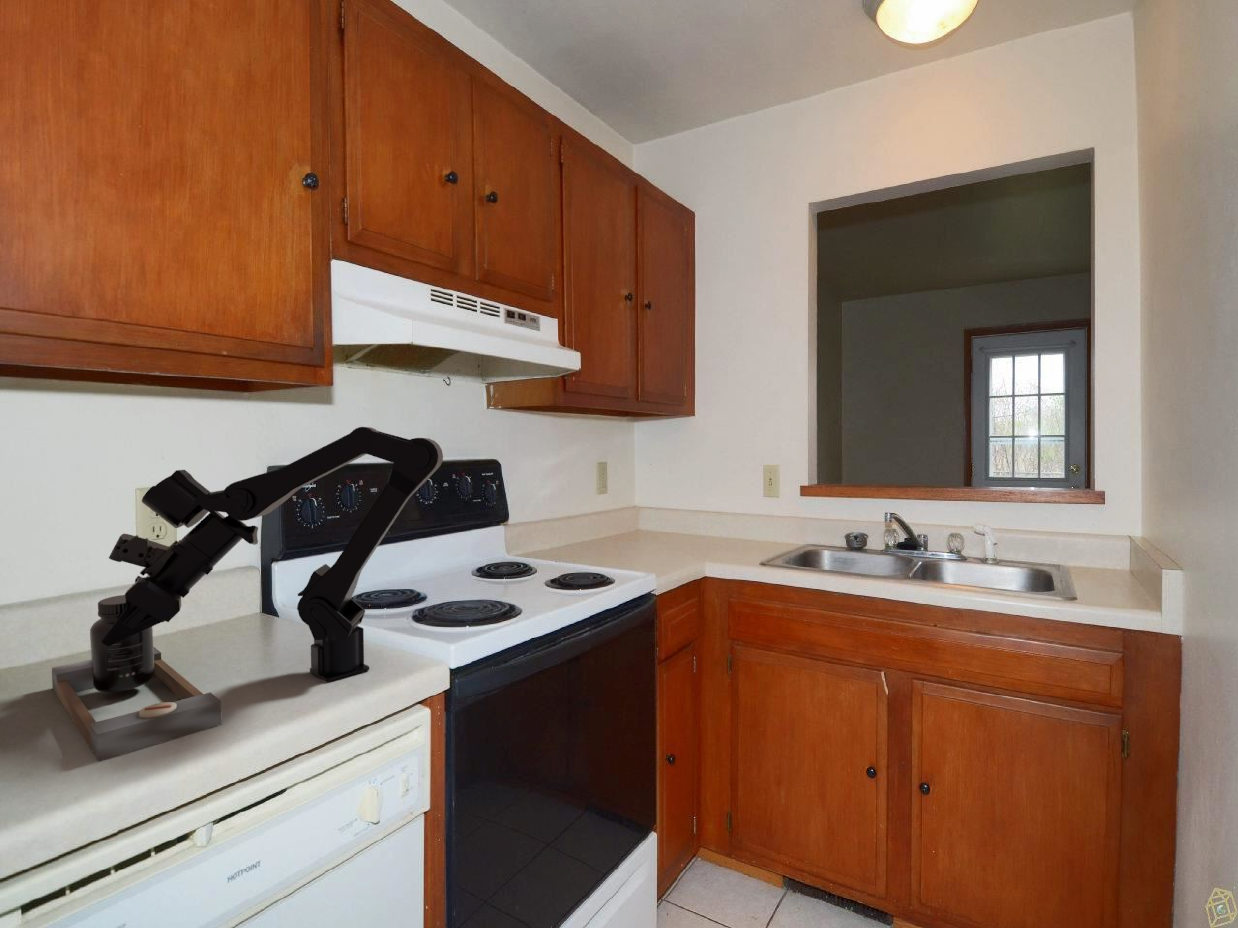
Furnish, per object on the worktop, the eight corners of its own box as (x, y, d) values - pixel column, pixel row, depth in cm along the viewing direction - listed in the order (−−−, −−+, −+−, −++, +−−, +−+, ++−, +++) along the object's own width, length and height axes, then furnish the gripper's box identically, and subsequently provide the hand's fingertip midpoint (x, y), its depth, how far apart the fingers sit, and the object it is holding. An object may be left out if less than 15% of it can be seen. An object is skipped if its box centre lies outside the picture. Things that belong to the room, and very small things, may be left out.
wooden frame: (154, 665, 99) (154, 643, 99) (221, 724, 79) (220, 695, 79) (52, 688, 90) (51, 663, 90) (98, 761, 70) (96, 728, 70)
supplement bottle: (89, 682, 89) (85, 598, 88) (150, 669, 94) (146, 588, 93) (96, 698, 84) (91, 609, 83) (159, 683, 89) (155, 599, 88)
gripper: (158, 507, 97) (67, 588, 92) (143, 519, 81) (33, 618, 76) (221, 552, 102) (138, 633, 97) (218, 573, 86) (119, 670, 81)
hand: (108, 637), depth 87 cm, fingers closed on supplement bottle, 7 cm apart
